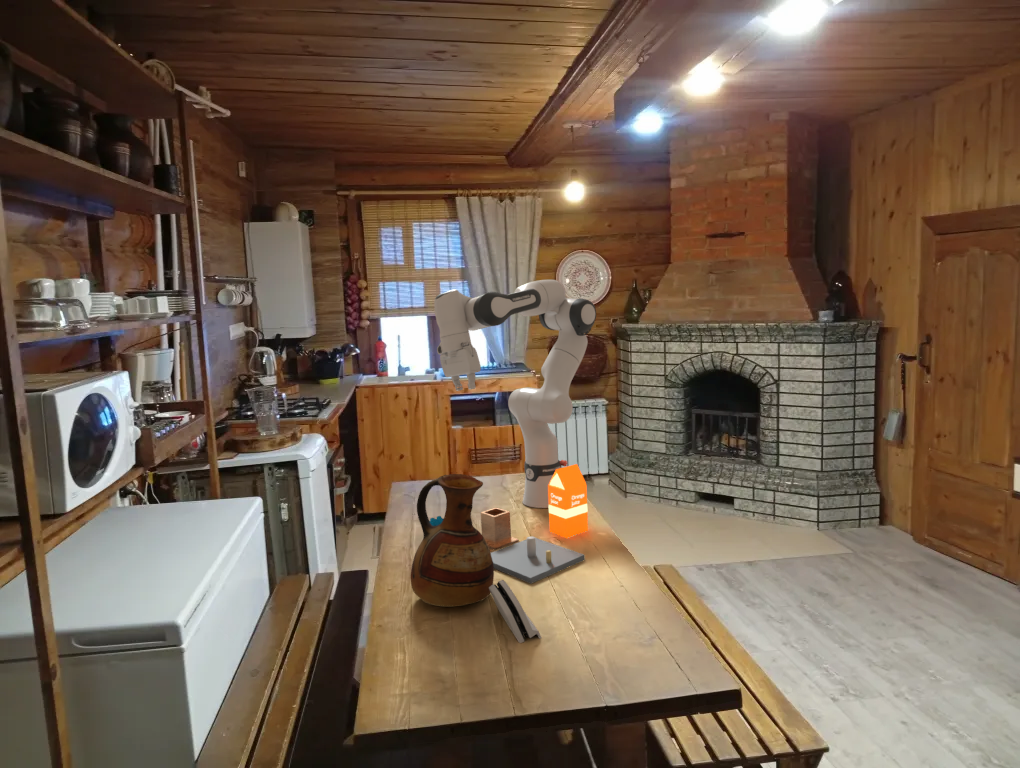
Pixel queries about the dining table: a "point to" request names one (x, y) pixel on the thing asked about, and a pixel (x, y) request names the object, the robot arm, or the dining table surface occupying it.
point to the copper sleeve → (497, 528)
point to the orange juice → (568, 502)
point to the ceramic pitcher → (452, 548)
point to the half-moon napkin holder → (512, 611)
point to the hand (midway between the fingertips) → (465, 389)
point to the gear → (436, 521)
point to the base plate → (534, 559)
